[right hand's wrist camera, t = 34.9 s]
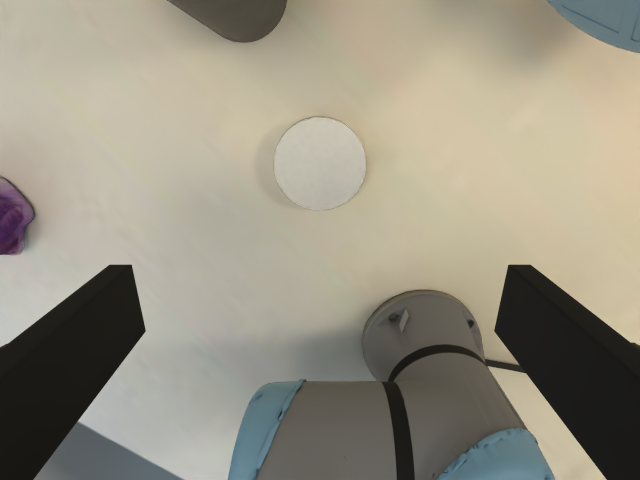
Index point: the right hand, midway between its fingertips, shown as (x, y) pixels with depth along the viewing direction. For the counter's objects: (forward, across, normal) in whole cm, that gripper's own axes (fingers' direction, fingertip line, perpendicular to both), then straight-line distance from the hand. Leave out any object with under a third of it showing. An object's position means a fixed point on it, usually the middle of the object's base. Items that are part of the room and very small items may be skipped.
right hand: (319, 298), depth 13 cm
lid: (+27, 0, 0) cm, 27 cm away
